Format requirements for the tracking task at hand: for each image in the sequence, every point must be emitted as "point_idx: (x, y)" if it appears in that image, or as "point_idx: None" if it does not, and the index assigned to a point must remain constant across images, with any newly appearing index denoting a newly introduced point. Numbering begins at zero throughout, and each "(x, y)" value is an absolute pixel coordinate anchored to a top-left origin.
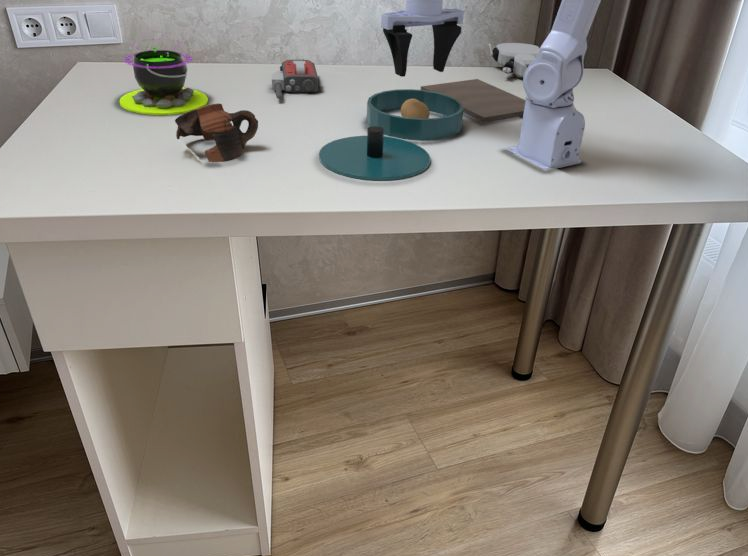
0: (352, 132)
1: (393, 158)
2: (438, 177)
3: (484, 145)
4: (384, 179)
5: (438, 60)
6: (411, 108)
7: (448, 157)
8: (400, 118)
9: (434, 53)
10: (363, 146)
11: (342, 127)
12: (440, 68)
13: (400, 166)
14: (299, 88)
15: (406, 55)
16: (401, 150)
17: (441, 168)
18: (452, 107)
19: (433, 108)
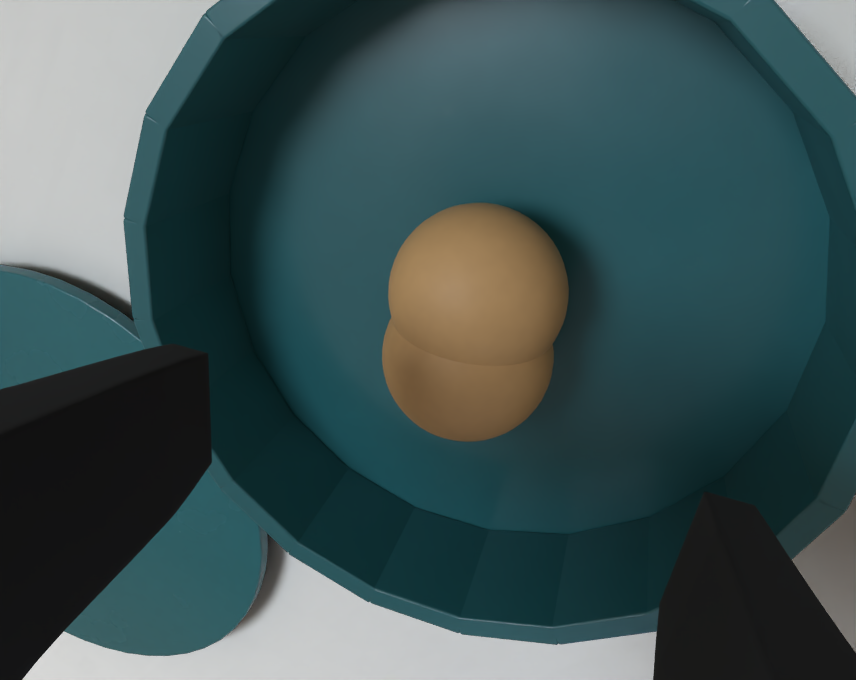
0: (124, 143)
1: None
2: (216, 672)
3: (605, 672)
4: None
5: (688, 661)
6: (385, 375)
7: (356, 624)
8: None
9: (746, 632)
10: None
11: (103, 34)
12: (657, 637)
13: (99, 600)
14: None
15: (24, 654)
16: (169, 525)
17: (267, 650)
18: (812, 435)
19: (831, 210)
